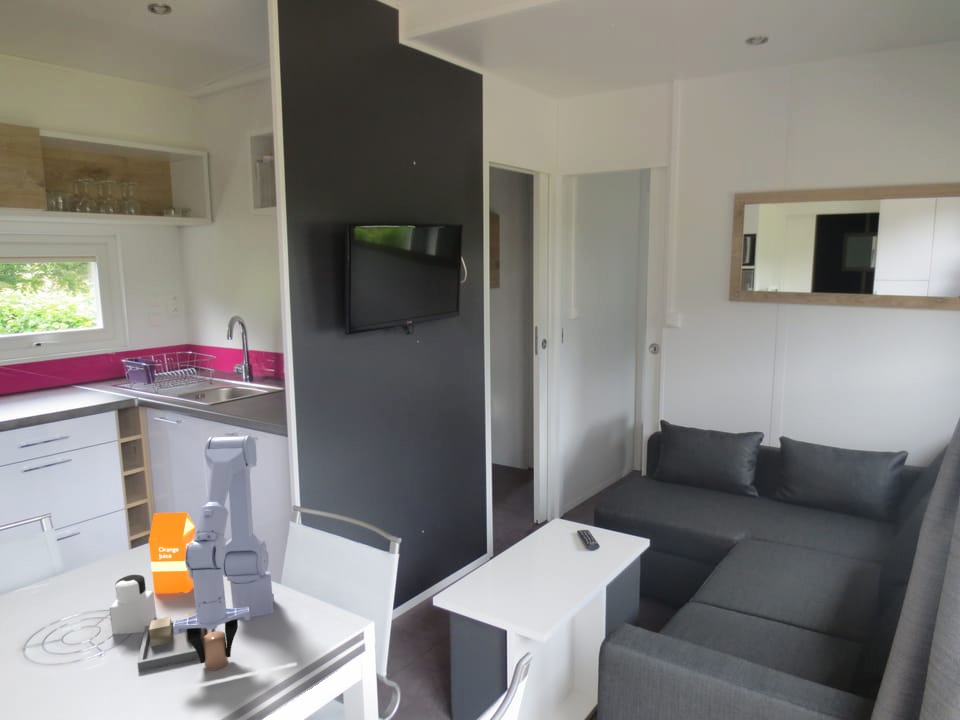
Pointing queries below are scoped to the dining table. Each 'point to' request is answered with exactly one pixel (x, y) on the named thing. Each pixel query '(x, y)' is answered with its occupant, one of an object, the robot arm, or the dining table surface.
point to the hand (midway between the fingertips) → (215, 657)
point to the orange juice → (170, 552)
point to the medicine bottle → (132, 606)
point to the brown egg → (215, 650)
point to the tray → (166, 651)
